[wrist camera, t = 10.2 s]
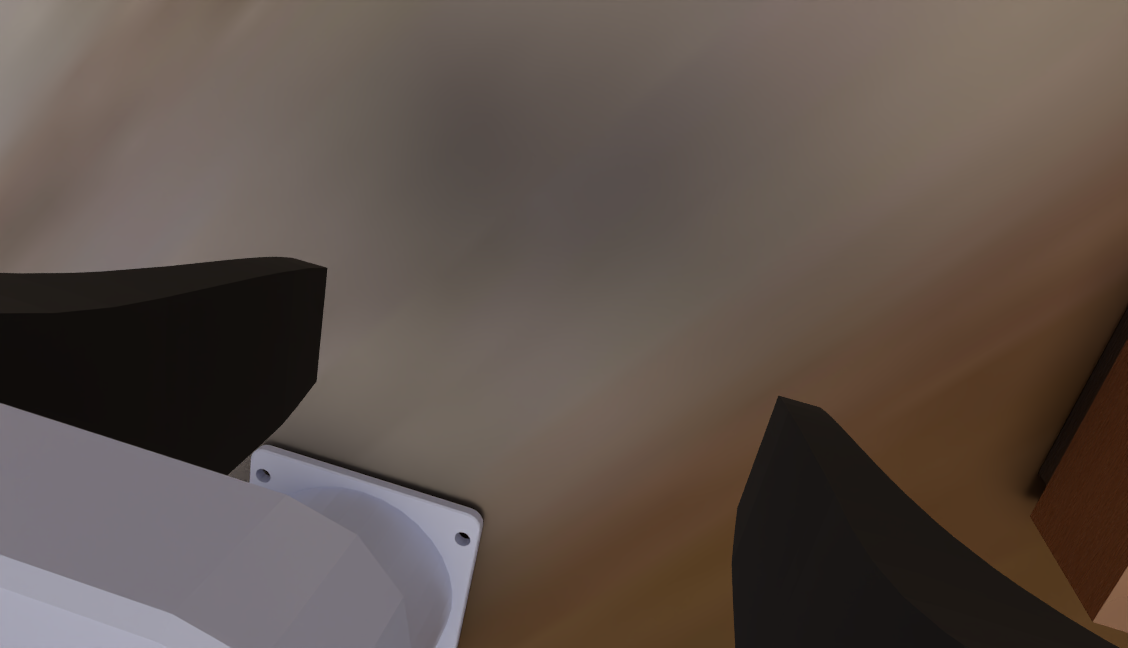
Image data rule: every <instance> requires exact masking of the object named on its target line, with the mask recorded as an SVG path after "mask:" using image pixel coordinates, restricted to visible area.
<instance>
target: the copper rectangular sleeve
mask: <svg viewBox="0 0 1128 648" xmlns="http://www.w3.org/2000/svg"><path fill="white" fill-rule="evenodd" d="M1030 517H1031V519H1032V520H1033V522H1034V524H1035V526H1036V527H1037V529H1038V531H1039V532H1040V534H1041V536H1042V537H1043V539H1044V541H1045V542H1046V544H1047V546H1048V547H1049V549H1050V551H1051V552H1052V554H1053V556H1054V558H1055V559H1056V561H1057V563H1058V564H1059V566H1060V568H1061V569H1062V571H1063V573H1064V574H1065V576H1066V578H1067V579H1068V581H1069V583H1070V584H1071V586H1072V588H1073V590H1074V591H1075V593H1076V595H1077V596H1078V598H1079V600H1080V601H1081V603H1082V605H1083V606H1084V608H1085V610H1086V611H1087V613H1088V615H1089V616H1090V618H1091V620H1092V621H1093V622H1095V623H1098V624H1101V625H1105V626H1108V627H1111V628H1114V629H1118V630H1121V631H1124V632H1128V339H1127V341H1126V343H1125V344H1124V346H1123V348H1122V350H1121V352H1120V353H1119V355H1118V357H1117V359H1116V361H1115V363H1114V364H1113V366H1112V368H1111V370H1110V372H1109V373H1108V375H1107V377H1106V379H1105V381H1104V383H1103V384H1102V386H1101V388H1100V390H1099V392H1098V393H1097V395H1096V397H1095V399H1094V401H1093V403H1092V404H1091V406H1090V408H1089V410H1088V412H1087V413H1086V415H1085V417H1084V419H1083V421H1082V423H1081V424H1080V426H1079V428H1078V430H1077V432H1076V433H1075V435H1074V437H1073V439H1072V441H1071V443H1070V444H1069V446H1068V448H1067V450H1066V452H1065V453H1064V455H1063V457H1062V459H1061V461H1060V463H1059V464H1058V466H1057V468H1056V470H1055V472H1054V473H1053V475H1052V477H1051V479H1050V481H1049V483H1048V484H1047V486H1046V488H1045V490H1044V492H1043V493H1042V495H1041V497H1040V499H1039V501H1038V503H1037V504H1036V506H1035V508H1034V510H1033V512H1032V513H1031V515H1030Z"/></svg>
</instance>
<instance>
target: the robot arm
mask: <svg viewBox="0 0 1128 648" xmlns="http://www.w3.org/2000/svg"><path fill="white" fill-rule="evenodd" d="M326 277H327V268H326V267H322V266H319V265H315V264H312V263H308V262H305V261H301V260H298V259H294V258H287V257H259V258H245V259H234V260H224V261H214V262H205V263H195V264H186V265H176V266H166V267H154V268H141V269H129V270H116V271H104V272H85V273H24V274H21V273H0V648H457V647H458V642H459V637H460V633H461V628H462V623H463V618H464V614H465V609H466V604H467V599H468V595H469V590H470V585H471V580H472V575H473V571H474V566H475V561H476V556H477V552H478V547H479V542H480V537H481V533H482V528H483V519H482V517H481V515H480V514H479V513H478V512H477V511H476V510H474V509H472V508H469V507H466V506H463V505H460V504H456V503H453V502H450V501H447V500H444V499H441V498H437V497H434V496H431V495H428V494H425V493H421V492H418V491H415V490H412V489H409V488H405V487H402V486H399V485H396V484H393V483H389V482H386V481H383V480H380V479H377V478H373V477H370V476H367V475H364V474H361V473H358V472H354V471H351V470H348V469H345V468H342V467H338V466H335V465H332V464H329V463H326V462H322V461H319V460H316V459H313V458H310V457H306V456H303V455H300V454H297V453H294V452H291V451H287V450H284V449H281V448H278V447H275V446H271V445H262V446H260V445H261V444H262V443H263V442H264V441H265V440H266V439H267V438H268V437H269V436H271V435H272V434H273V433H274V432H275V431H276V430H277V429H278V428H279V427H280V426H281V425H282V424H283V423H284V422H285V420H286V419H287V418H288V417H289V416H290V414H291V413H292V412H293V411H294V410H295V408H296V407H297V406H298V405H299V404H300V402H301V401H302V400H303V398H304V397H305V396H306V394H307V393H308V392H309V390H310V389H311V388H312V386H313V385H314V384H315V383H316V380H317V370H318V360H319V349H320V339H321V329H322V318H323V308H324V298H325V287H326ZM259 446H260V447H259ZM258 447H259V448H258ZM257 448H258V449H257ZM255 449H257V450H256V451H255V452H254V453H252V452H253V451H254V450H255ZM251 453H252V456H251V466H250V482H249V483H248V482H245V481H242V480H239V479H236V478H233V477H230V476H227V475H228V474H229V473H230V472H231V471H232V470H233V469H235V468H236V467H237V466H238V465H239V464H240V463H241V462H242V461H243V460H245V459H246V458H247V457H248V456H249V455H250V454H251ZM263 469H264V470H266V471H268V473H269V474H270V476H268V475H266V474H265V473H264V471H263ZM459 532H463V533H465V534H467V535H468V536H469V537H470V539H466V538H463V537H462V536H461V535H460V534H459ZM732 585H733V609H734V630H735V648H1119V647H1117V646H1115V645H1113V644H1112V643H1110V642H1108V641H1106V640H1104V639H1103V638H1101V637H1099V636H1098V635H1096V634H1094V633H1093V632H1091V631H1089V630H1088V629H1086V628H1084V627H1083V626H1081V625H1079V624H1078V623H1076V622H1074V621H1072V620H1071V619H1069V618H1068V617H1066V616H1064V615H1063V614H1061V613H1060V612H1058V611H1057V610H1055V609H1054V608H1052V607H1051V606H1049V605H1047V604H1046V603H1044V602H1043V601H1041V600H1040V599H1038V598H1037V597H1035V596H1034V595H1032V594H1031V593H1029V592H1028V591H1026V590H1025V589H1023V588H1022V587H1020V586H1019V585H1017V584H1016V583H1014V582H1013V581H1011V580H1010V579H1009V578H1007V577H1006V576H1004V575H1003V574H1001V573H1000V572H999V571H997V570H996V569H994V568H993V567H992V566H990V565H989V564H988V563H987V562H985V561H984V560H983V559H981V558H980V557H979V556H978V555H976V554H975V553H974V552H972V551H971V550H970V549H969V548H967V547H966V546H965V545H963V544H962V543H961V542H960V541H958V540H957V539H956V538H954V537H953V536H952V535H951V534H950V533H948V532H947V531H946V530H945V529H944V528H943V527H941V526H940V525H939V524H938V523H937V522H936V521H934V520H933V519H932V518H931V517H930V516H929V515H928V514H927V513H926V512H925V511H924V510H922V509H921V508H920V507H919V506H918V505H917V504H916V503H915V502H914V501H913V500H912V499H910V498H909V497H908V496H907V495H906V494H905V493H904V492H903V491H902V490H901V489H900V488H899V487H898V486H897V485H896V484H895V483H894V482H893V481H892V480H891V479H890V478H889V477H888V476H887V475H886V474H885V473H884V472H883V471H882V470H881V469H880V468H879V467H878V466H877V465H876V464H875V463H874V462H873V460H872V459H871V458H870V457H869V456H868V455H867V454H866V453H865V452H864V451H863V450H862V449H861V448H860V447H859V446H858V445H857V443H856V442H855V441H854V440H853V439H852V438H851V437H850V436H849V435H848V434H847V433H846V432H845V431H844V430H843V428H842V427H841V426H840V425H839V424H838V423H837V422H836V421H835V420H834V419H833V418H832V417H831V416H830V415H829V414H828V413H826V412H825V411H824V410H823V409H821V408H820V407H817V406H813V405H810V404H806V403H803V402H799V401H795V400H792V399H788V398H785V397H781V396H778V399H777V401H776V404H775V407H774V409H773V412H772V415H771V418H770V420H769V423H768V426H767V429H766V431H765V434H764V437H763V440H762V442H761V445H760V448H759V450H758V453H757V456H756V459H755V461H754V464H753V467H752V470H751V472H750V475H749V478H748V481H747V483H746V486H745V489H744V492H743V494H742V497H741V500H740V502H739V505H738V508H737V516H736V525H735V534H734V544H733V555H732Z"/></svg>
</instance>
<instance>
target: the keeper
mask: <svg viewBox="0 0 1128 648" xmlns="http://www.w3.org/2000/svg"><path fill="white" fill-rule="evenodd" d="M1127 339H1128V308H1127V310H1126V312H1125V314H1124V316H1123V318H1122V319H1121V321H1120V323H1119V325H1118V327H1117V329H1116V330H1115V332H1114V334H1113V336H1112V338H1111V340H1110V342H1109V343H1108V345H1107V347H1106V349H1105V351H1104V353H1103V355H1102V356H1101V358H1100V360H1099V362H1098V364H1097V366H1096V367H1095V369H1094V371H1093V373H1092V375H1091V377H1090V379H1089V380H1088V382H1087V384H1086V386H1085V388H1084V390H1083V392H1082V393H1081V395H1080V397H1079V399H1078V401H1077V403H1076V404H1075V406H1074V408H1073V410H1072V412H1071V414H1070V416H1069V417H1068V419H1067V421H1066V423H1065V425H1064V427H1063V429H1062V430H1061V432H1060V434H1059V436H1058V438H1057V440H1056V441H1055V443H1054V445H1053V447H1052V449H1051V451H1050V453H1049V454H1048V456H1047V458H1046V460H1045V462H1044V464H1043V465H1042V467H1041V469H1040V471H1039V475H1040V476H1041V478H1042V479H1043V481H1044V482H1045V484H1046V485H1047V484H1048V483H1049V481H1050V479H1051V477H1052V475H1053V473H1054V472H1055V470H1056V468H1057V466H1058V464H1059V463H1060V461H1061V459H1062V457H1063V455H1064V453H1065V452H1066V450H1067V448H1068V446H1069V444H1070V443H1071V441H1072V439H1073V437H1074V435H1075V433H1076V432H1077V430H1078V428H1079V426H1080V424H1081V423H1082V421H1083V419H1084V417H1085V415H1086V413H1087V412H1088V410H1089V408H1090V406H1091V404H1092V403H1093V401H1094V399H1095V397H1096V395H1097V393H1098V392H1099V390H1100V388H1101V386H1102V384H1103V383H1104V381H1105V379H1106V377H1107V375H1108V373H1109V372H1110V370H1111V368H1112V366H1113V364H1114V363H1115V361H1116V359H1117V357H1118V355H1119V353H1120V352H1121V350H1122V348H1123V346H1124V344H1125V343H1126V341H1127Z"/></svg>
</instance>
